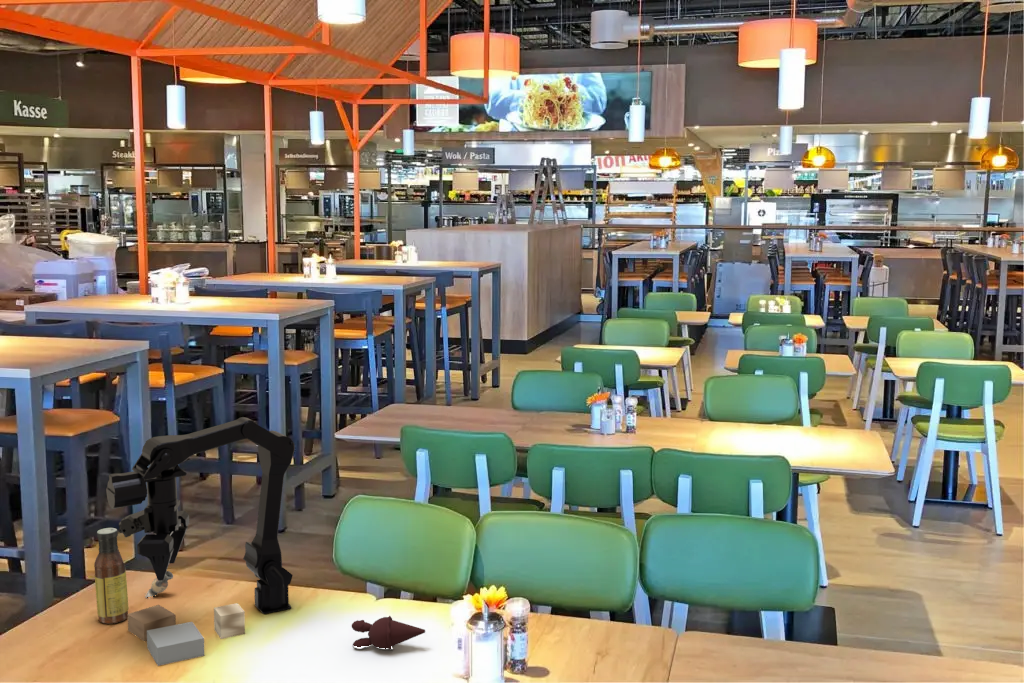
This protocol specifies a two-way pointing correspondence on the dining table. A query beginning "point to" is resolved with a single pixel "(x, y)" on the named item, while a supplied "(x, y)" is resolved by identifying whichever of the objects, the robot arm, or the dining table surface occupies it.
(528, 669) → the dining table surface
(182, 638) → the slate block
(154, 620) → the walnut block
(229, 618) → the birch cube
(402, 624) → the icecream
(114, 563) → the sauce bottle
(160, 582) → the vase
